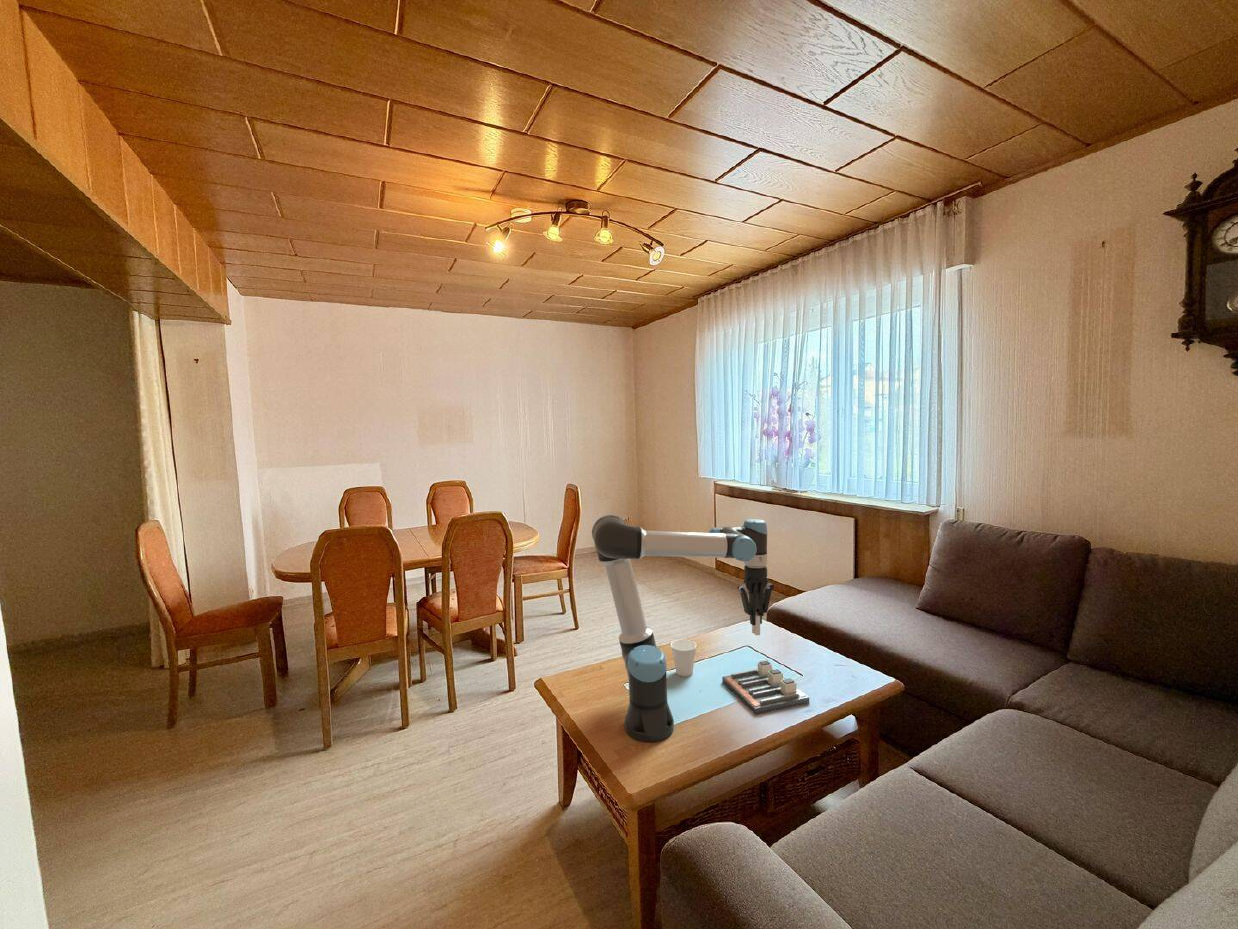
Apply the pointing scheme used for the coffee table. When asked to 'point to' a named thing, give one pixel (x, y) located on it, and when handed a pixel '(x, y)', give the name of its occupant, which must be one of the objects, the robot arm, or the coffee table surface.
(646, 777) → the coffee table surface
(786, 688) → the block
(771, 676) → the block
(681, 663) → the cup
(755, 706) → the panel
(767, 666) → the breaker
